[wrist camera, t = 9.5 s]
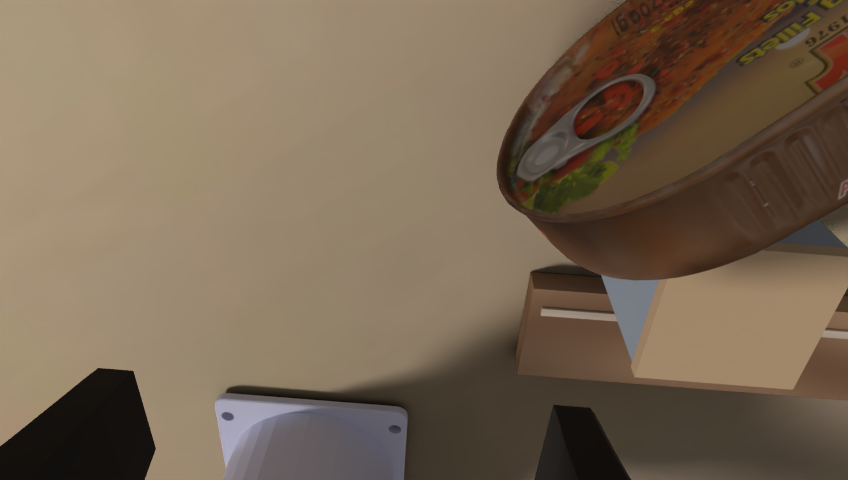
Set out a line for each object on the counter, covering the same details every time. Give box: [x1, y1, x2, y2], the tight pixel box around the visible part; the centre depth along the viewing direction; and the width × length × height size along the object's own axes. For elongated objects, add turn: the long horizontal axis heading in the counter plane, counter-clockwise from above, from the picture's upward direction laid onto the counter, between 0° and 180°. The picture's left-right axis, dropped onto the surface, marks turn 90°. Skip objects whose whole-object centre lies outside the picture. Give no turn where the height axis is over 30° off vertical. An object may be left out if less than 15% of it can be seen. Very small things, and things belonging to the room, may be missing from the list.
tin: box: [497, 0, 848, 280], centre depth 12 cm, size 15×3×8 cm, turn 131°
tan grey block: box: [601, 220, 848, 390], centre depth 17 cm, size 4×4×6 cm
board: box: [515, 272, 848, 400], centre depth 22 cm, size 4×14×1 cm, turn 87°
